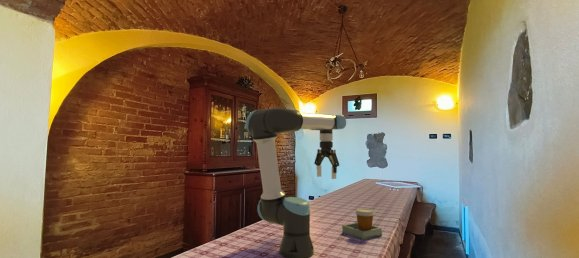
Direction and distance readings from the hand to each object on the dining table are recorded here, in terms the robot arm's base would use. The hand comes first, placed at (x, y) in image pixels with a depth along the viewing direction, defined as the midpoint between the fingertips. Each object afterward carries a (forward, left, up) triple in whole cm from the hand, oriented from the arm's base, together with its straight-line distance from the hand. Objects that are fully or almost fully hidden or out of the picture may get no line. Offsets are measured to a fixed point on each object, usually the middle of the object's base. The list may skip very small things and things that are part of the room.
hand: (326, 177), depth 170 cm
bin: (+9, -19, -29) cm, 35 cm away
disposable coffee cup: (+9, -21, -28) cm, 36 cm away
